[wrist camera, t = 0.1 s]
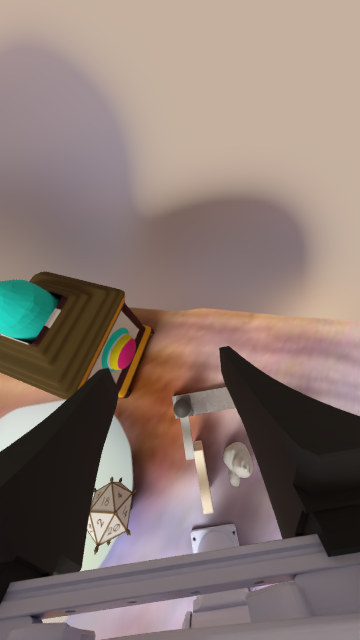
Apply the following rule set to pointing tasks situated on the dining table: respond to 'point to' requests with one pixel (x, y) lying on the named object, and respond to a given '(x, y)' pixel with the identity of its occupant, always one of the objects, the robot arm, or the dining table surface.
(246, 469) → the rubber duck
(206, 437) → the dining table surface
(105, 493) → the game die
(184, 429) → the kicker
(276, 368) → the dining table surface
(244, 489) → the dining table surface
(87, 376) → the decorative lantern
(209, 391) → the rail
